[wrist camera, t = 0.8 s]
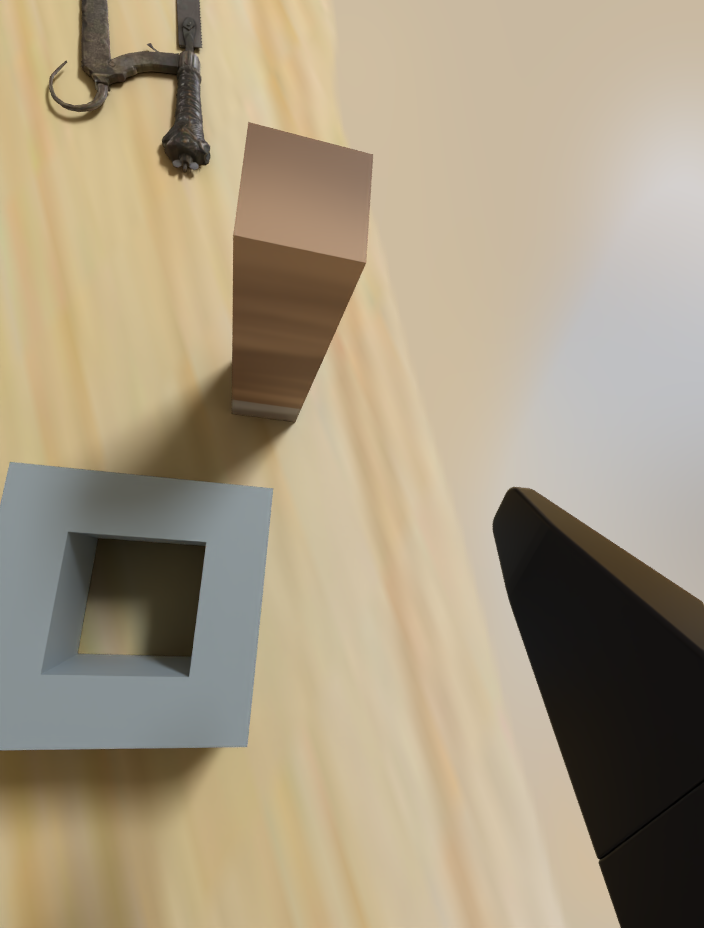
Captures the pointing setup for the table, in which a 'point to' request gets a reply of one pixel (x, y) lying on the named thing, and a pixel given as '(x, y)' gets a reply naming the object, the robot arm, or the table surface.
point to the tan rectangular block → (293, 264)
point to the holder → (65, 596)
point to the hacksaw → (187, 132)
